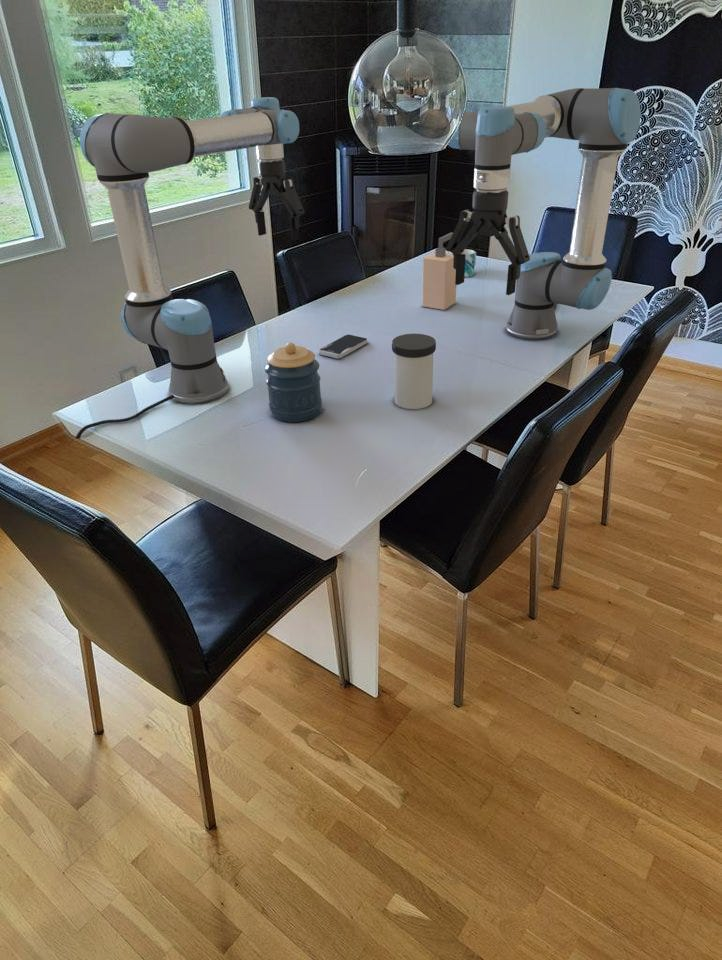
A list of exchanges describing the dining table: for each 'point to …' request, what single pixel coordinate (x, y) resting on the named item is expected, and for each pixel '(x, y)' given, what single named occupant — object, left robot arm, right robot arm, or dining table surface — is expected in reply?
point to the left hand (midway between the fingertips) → (278, 237)
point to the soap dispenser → (439, 278)
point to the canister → (293, 384)
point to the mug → (469, 262)
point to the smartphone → (342, 346)
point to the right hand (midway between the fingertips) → (484, 288)
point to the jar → (413, 381)
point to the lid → (413, 345)
